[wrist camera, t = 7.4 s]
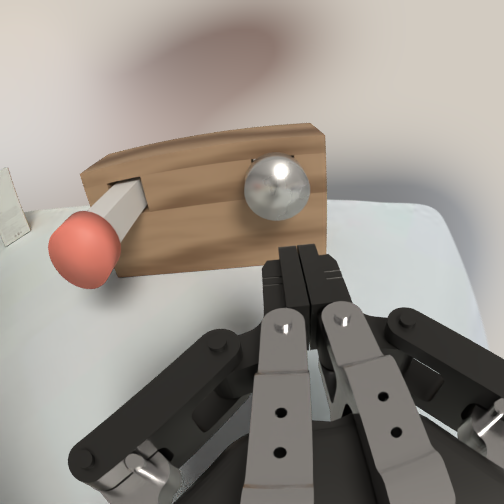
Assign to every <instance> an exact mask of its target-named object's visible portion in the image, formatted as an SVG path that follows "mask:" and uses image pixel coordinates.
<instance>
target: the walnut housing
mask: <svg viewBox="0 0 504 504" xmlns="http://www.w3.org/2000/svg"><path fill="white" fill-rule="evenodd" d="M272 152H279V153H284V154H287V155H290V156H291V157H293V158H294V159H296V160H297V161H298V162H299V164H300V165H301V166H302V168H303V170H304V172H305V174H306V176H307V178H308V180H309V184H310V195H309V199H308V202H307V204H306V205H305V207H304V208H303V209H302V210H301V211H300V212H299V213H298V214H297V215H295V216H293V217H291V218H289V219H286V220H280V221H273V220H267V219H264V218H262V217H260V216H258V215H257V214H255V213H254V212H253V211H252V210H251V209H250V207H249V206H248V204H247V202H246V199H245V194H244V187H245V176H246V172H247V170H248V168H249V166H250V165H251V163H252V162H253V161H254V160H253V159H257V158H258V157H260V156H262V155H264V154H267V153H272ZM80 176H81V179H82V183H83V186H84V189H85V192H86V195H87V198H88V201H89V204H90V207H92V206H93V205H94V204H95V203H96V202H97V201H98V200H99V199H100V198H101V197H102V196H103V195H104V194H105V193H106V192H107V191H108V190H109V189H110V188H111V187H112V186H113V185H114V184H116V183H117V182H118V181H120V180H124V179H129V178H134V177H139V176H140V178H141V182H142V186H143V189H144V193H145V197H146V200H147V205H146V207H145V208H144V209H143V211H142V212H141V214H140V215H139V217H138V218H137V219H136V221H135V222H134V224H133V225H132V227H131V228H130V229H129V231H128V232H127V234H126V235H125V237H124V238H123V240H122V241H121V243H120V244H121V254H120V258H119V260H118V262H117V263H116V265H115V267H114V269H115V271H116V273H117V276H118V277H131V276H144V275H156V274H168V273H180V272H192V271H203V270H215V269H226V268H237V267H248V266H259V265H264V264H265V263H266V261H269V260H278V259H279V252H278V247H285V246H295V245H296V248H297V245H304V244H315V246H316V248H317V251H318V254H319V255H325V254H326V240H327V181H326V180H327V179H326V146H325V135H324V134H323V133H322V132H320V131H319V130H318V129H317V128H316V127H315V126H313V125H312V124H311V123H301V124H287V125H274V126H263V127H254V128H245V129H237V130H228V131H221V132H214V133H208V134H202V135H196V136H190V137H184V138H179V139H173V140H168V141H164V142H158V143H154V144H149V145H145V146H140V147H136V148H132V149H128V150H123V151H119V152H115V153H112V154H108V155H107V156H105V157H104V158H102V159H101V160H99V161H98V162H96V163H95V164H93V165H92V166H90V167H89V168H88V169H86V170H85V171H84V172H82V173H81V174H80Z"/></svg>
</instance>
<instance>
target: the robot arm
mask: <svg viewBox="0 0 504 504" xmlns="http://www.w3.org/2000/svg"><path fill="white" fill-rule="evenodd" d="M278 252H279V259H278V260H269V261H266V263H265V264H264V266H263V268H262V281H263V301H264V317H263V320H262V322H261V323H260V324H259V325H258V326H257V327H256V328H255V329H253V330H251V331H249V332H246V333H243V334H241V335H238V336H237V335H236V334H235V333H234V332H233V331H230V330H227V329H216V330H212V331H209V332H207V333H206V334H204V335H203V336H202V337H201V338H200V339H198V340H197V341H196V342H195V343H194V344H193V345H192V346H191V347H189V348H188V349H187V350H186V351H185V352H184V353H183V354H182V355H180V356H179V357H178V358H177V359H176V360H175V361H174V362H173V363H171V364H170V365H169V366H168V367H167V368H166V369H165V370H163V371H162V372H161V373H160V374H159V375H158V376H157V377H155V378H154V379H153V380H152V381H151V382H150V383H148V384H147V385H146V386H145V387H144V388H143V389H142V390H140V391H139V392H138V393H137V394H136V395H135V396H133V397H132V398H131V399H130V400H129V401H128V402H126V403H125V404H124V405H123V406H122V407H120V408H119V409H118V410H117V411H116V412H115V413H113V414H112V415H111V416H110V417H109V418H107V419H106V420H105V421H104V422H103V423H101V424H100V425H99V426H98V427H97V428H95V429H94V430H93V431H92V432H90V433H89V434H88V435H87V436H86V437H84V438H83V439H82V440H81V441H79V442H78V443H77V444H76V445H75V446H74V447H73V448H72V449H71V451H70V453H69V457H68V466H69V469H70V472H71V473H72V475H73V476H74V477H75V478H76V479H78V480H79V481H81V482H83V483H85V484H87V485H89V486H91V487H92V488H94V489H96V490H98V491H99V492H101V494H102V495H103V496H104V497H105V498H106V500H107V501H108V502H109V503H110V504H172V500H173V497H174V495H175V494H176V493H177V491H178V490H179V489H180V487H181V484H182V476H181V473H180V471H179V468H180V467H181V466H182V465H183V464H184V463H185V462H186V461H187V460H188V459H190V458H191V457H192V456H193V455H194V454H195V453H196V452H197V451H198V450H199V449H200V448H201V447H202V446H203V445H204V444H205V443H206V442H207V441H208V440H209V439H210V438H211V437H212V436H213V435H214V434H215V433H216V432H217V431H218V430H219V429H220V428H221V427H222V426H223V425H224V423H225V422H226V421H227V420H228V419H229V418H230V417H231V416H232V415H233V414H234V413H235V412H236V411H237V410H238V409H239V407H240V406H241V405H242V404H243V403H244V402H245V401H246V400H247V399H248V397H249V396H250V394H251V393H253V398H252V410H251V421H250V433H249V434H246V435H245V436H243V437H241V438H239V439H238V440H236V441H235V442H233V443H232V444H231V445H230V446H228V447H227V448H226V449H225V450H224V451H223V453H222V454H221V455H220V456H219V457H218V458H217V459H216V460H215V461H214V462H213V464H212V465H211V466H210V467H209V468H208V469H207V470H206V471H205V472H204V473H203V474H202V475H201V476H200V477H199V478H198V479H197V480H196V481H195V482H194V484H193V485H192V486H191V487H190V488H189V489H188V490H187V491H186V492H185V493H184V494H183V495H182V496H181V497H179V498H178V499H177V500H176V501H175V502H174V503H173V504H504V359H502V358H501V357H499V356H497V355H495V354H494V353H492V352H490V351H488V350H487V349H485V348H483V347H481V346H480V345H478V344H476V343H474V342H473V341H471V340H469V339H467V338H465V337H464V336H462V335H460V334H458V333H457V332H455V331H453V330H451V329H449V328H448V327H446V326H444V325H442V324H440V323H438V322H437V321H435V320H433V319H431V318H429V317H427V316H426V315H424V314H422V313H420V312H418V311H416V310H414V309H411V308H405V307H403V308H397V309H395V310H393V311H392V312H391V313H390V314H389V316H388V318H383V317H374V316H369V315H366V314H363V313H362V311H361V309H360V308H359V307H358V306H356V305H355V304H353V303H352V300H351V297H350V295H349V292H348V289H347V287H346V284H345V282H344V279H343V278H342V274H341V271H340V269H339V266H338V264H337V261H336V260H335V259H334V258H332V257H331V256H330V255H329V254H325V255H319V254H318V251H317V248H316V246H315V244H304V245H297V248H296V245H295V246H285V247H278ZM309 344H310V350H314V349H317V350H318V355H319V361H318V367H319V371H320V375H321V378H322V382H323V386H324V389H325V393H326V397H327V400H328V404H329V409H330V422H327V421H314V420H312V416H311V393H310V376H309V371H308V361H307V350H309ZM414 358H415V359H416V360H415V359H414ZM417 360H418V361H417ZM419 361H420V362H421V363H420V362H419ZM422 363H423V364H425V365H426V366H425V365H423V364H422ZM427 366H428V367H430V368H431V369H430V368H428V367H427ZM432 369H433V370H435V371H436V372H435V371H433V370H432ZM437 372H438V373H439V374H438V373H437ZM440 374H441V375H440ZM415 405H416V406H417V407H419V408H420V409H422V410H423V411H425V412H426V413H428V414H430V415H431V416H433V417H434V418H436V419H437V420H439V421H441V422H442V423H444V424H445V425H447V426H449V427H450V428H452V429H453V430H455V431H457V436H458V439H457V438H456V437H454V436H453V435H452V434H450V433H449V432H447V431H446V430H444V429H443V428H441V427H440V426H438V425H437V424H435V423H434V422H433V421H431V420H430V419H428V418H427V417H425V416H423V415H421V414H419V413H418V411H417V408H416V406H415Z"/></svg>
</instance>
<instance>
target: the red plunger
mask: <svg viewBox="0 0 504 504" xmlns="http://www.w3.org/2000/svg"><path fill="white" fill-rule="evenodd" d="M146 205H147V200H146V197H145V193H144V189H143V186H142V182H141V178H140V176H139V177H134V178H129V179H124V180H120V181H118V182H117V183H116V184H114V185H113V186H112V187H111V188H110V189H109V190H108V191H107V192H106V193H105V194H104V195H103V196H102V197H101V198H100V199H99V200H98V201H97V202H96V203H95V204H94V205H93V206H92V207H91V208H90V209H89V210H88V211H79V212H76V213H74V214H72V215H71V216H70V217H69V218H68V219H67V220H66V221H65V222H64V223H63V224H62V225H61V226H60V227H59V228H58V229H57V230H56V231H55V232H54V233H53V234H52V236H51V237H50V240H49V245H48V250H49V256H50V259H51V261H52V263H53V265H54V267H55V268H56V270H57V271H58V272H59V274H60V275H61V276H62V277H63V278H65V279H66V280H67V281H68V282H70V283H72V284H73V285H75V286H78V287H81V288H85V289H95V288H98V287H100V286H102V285H103V284H104V283H105V282H106V280H107V279H108V277H109V275H110V274H111V272H112V270H113V268H114V267H115V265H116V263H117V262H118V260H119V258H120V254H121V244H120V243H121V241H122V240H123V238H124V237H125V235H126V234H127V232H128V231H129V229H130V228H131V227H132V225H133V224H134V222H135V221H136V219H137V218H138V217H139V215H140V214H141V212H142V211H143V209H144V208H145V207H146Z"/></svg>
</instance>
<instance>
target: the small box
mask: <svg viewBox="0 0 504 504" xmlns="http://www.w3.org/2000/svg"><path fill="white" fill-rule="evenodd" d="M30 230H31V229H30V227H29V225H28V222H27V220H26V217H25V215H24V212H23V210H22V207H21V205H20V202H19V199H18V196H17V194H16V191H15V188H14V185H13V182H12V179H11V176H10V172H9V169H8V168H7V167H5V168H3V169H1V170H0V236H1V238H2V240H3V242H4V245H5V247H6V246H8V245H9V244H11V243H12V242H14V241H16V240H17V239H19V238H20V237H22V236H23V235H25V234H26V233H28V232H29V231H30Z"/></svg>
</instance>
